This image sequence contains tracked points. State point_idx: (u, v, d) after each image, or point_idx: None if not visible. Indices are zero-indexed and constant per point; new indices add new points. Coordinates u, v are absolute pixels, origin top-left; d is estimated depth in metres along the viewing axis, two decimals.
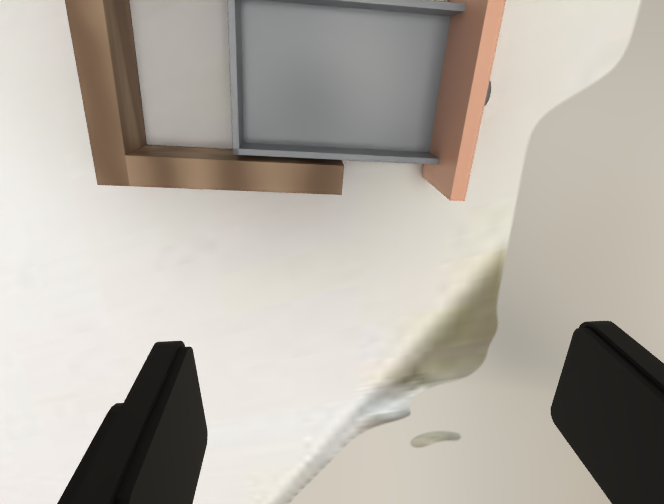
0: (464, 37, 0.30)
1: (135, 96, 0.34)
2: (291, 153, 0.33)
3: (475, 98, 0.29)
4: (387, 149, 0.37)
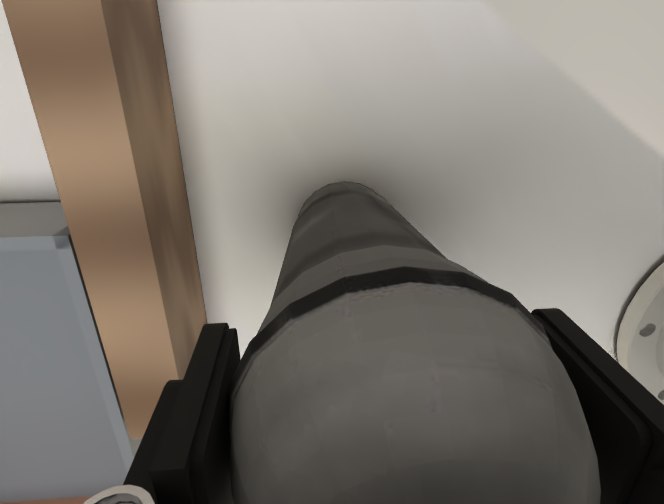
0: None
1: None
2: None
3: None
4: None
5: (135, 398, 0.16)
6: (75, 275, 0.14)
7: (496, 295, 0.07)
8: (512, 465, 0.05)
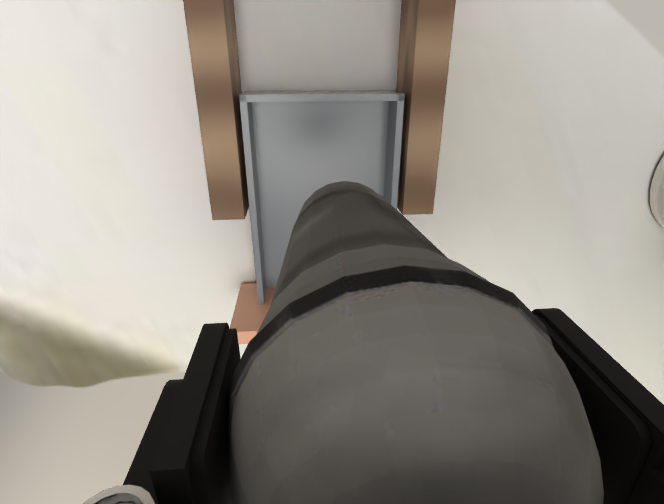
0: None
1: None
2: (249, 162, 0.31)
3: None
4: (264, 250, 0.37)
5: (412, 187, 0.32)
6: (401, 115, 0.30)
7: (498, 294, 0.07)
8: (515, 466, 0.05)
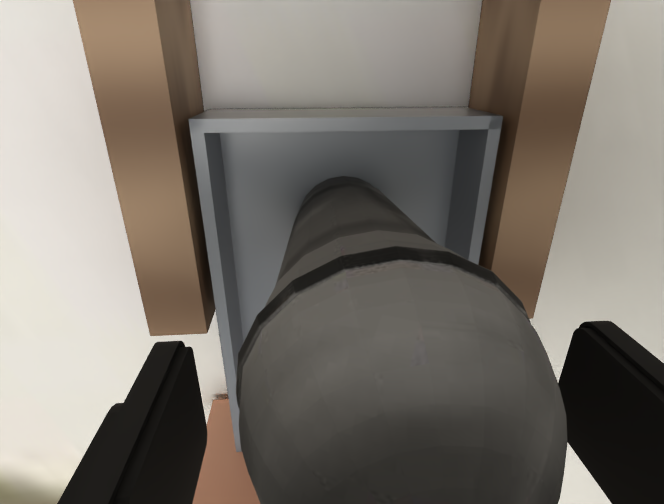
0: None
1: None
2: (213, 238, 0.17)
3: None
4: None
5: (503, 278, 0.18)
6: (493, 156, 0.16)
7: (478, 272, 0.08)
8: (485, 410, 0.06)
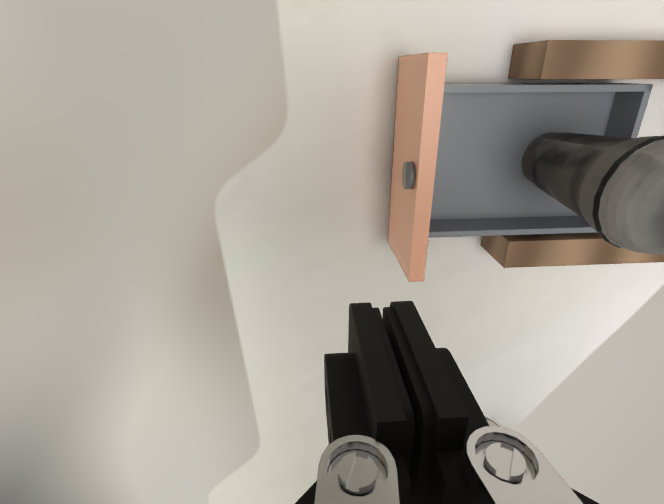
0: None
1: None
2: (591, 89, 0.30)
3: (428, 175, 0.28)
4: None
5: (532, 247, 0.35)
6: (591, 231, 0.35)
7: None
8: None
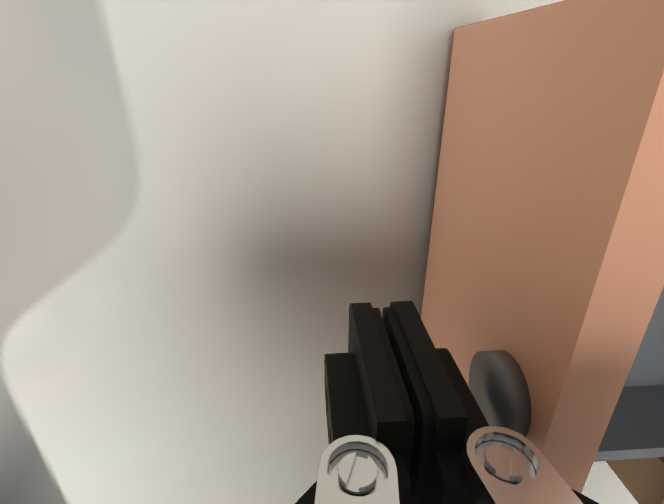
0: None
1: None
2: None
3: (582, 435, 0.08)
4: None
5: None
6: None
7: None
8: None
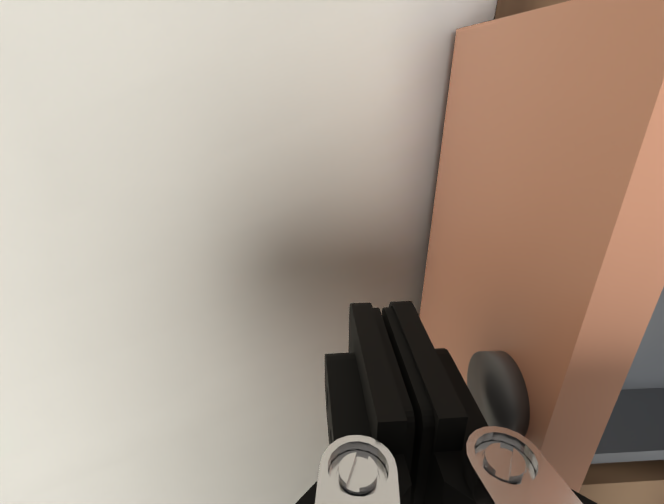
0: None
1: None
2: None
3: (580, 435, 0.08)
4: None
5: None
6: None
7: None
8: None
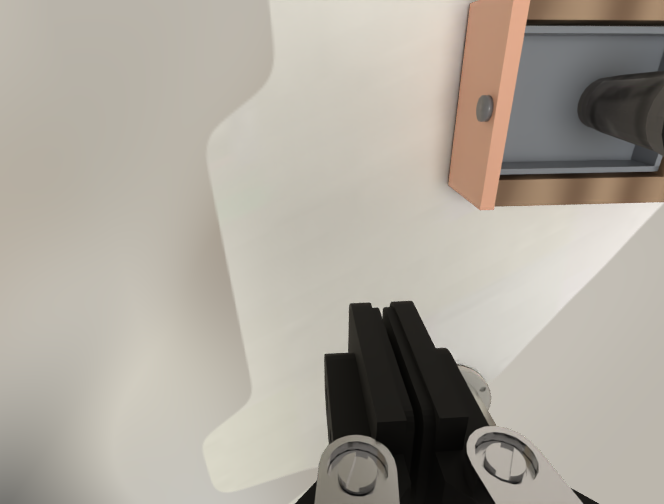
0: None
1: None
2: (650, 30, 0.33)
3: (506, 105, 0.31)
4: (528, 36, 0.35)
5: (505, 187, 0.37)
6: (642, 170, 0.38)
7: None
8: None
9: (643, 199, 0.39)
